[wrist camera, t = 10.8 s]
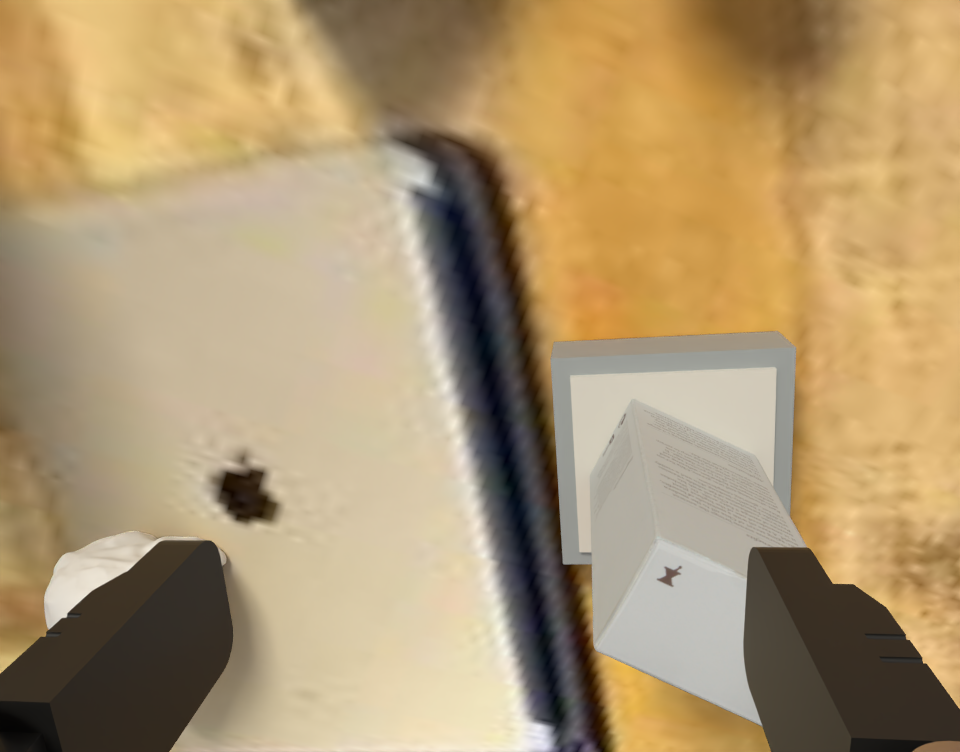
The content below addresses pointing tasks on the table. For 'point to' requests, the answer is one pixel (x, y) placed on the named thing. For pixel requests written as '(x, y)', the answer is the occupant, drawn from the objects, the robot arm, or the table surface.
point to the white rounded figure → (96, 569)
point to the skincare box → (679, 553)
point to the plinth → (669, 405)
